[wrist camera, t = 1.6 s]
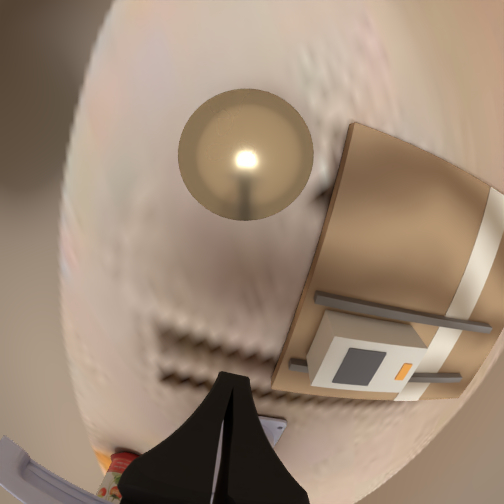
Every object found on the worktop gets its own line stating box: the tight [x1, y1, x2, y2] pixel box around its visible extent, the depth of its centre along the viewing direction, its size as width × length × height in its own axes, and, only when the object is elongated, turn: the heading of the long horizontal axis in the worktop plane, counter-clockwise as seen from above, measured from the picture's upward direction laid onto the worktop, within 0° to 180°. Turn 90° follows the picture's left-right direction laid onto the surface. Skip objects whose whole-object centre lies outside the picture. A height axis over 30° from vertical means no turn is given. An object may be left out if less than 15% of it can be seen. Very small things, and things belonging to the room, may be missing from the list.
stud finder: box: [306, 310, 428, 393], centre depth 17 cm, size 4×7×3 cm, turn 77°
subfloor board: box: [271, 123, 504, 401], centre depth 17 cm, size 20×21×2 cm
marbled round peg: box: [178, 89, 313, 221], centre depth 12 cm, size 4×4×8 cm
